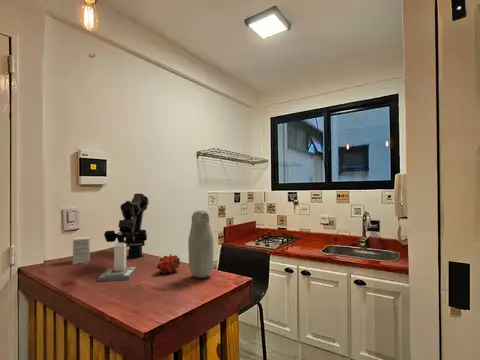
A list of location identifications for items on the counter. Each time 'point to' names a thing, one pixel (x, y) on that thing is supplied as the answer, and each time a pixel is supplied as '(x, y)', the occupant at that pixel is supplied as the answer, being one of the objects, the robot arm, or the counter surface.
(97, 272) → the counter surface
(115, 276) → the docking station
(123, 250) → the cream tall block
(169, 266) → the dragon fruit
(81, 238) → the grey ridged block
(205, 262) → the grey bottle
